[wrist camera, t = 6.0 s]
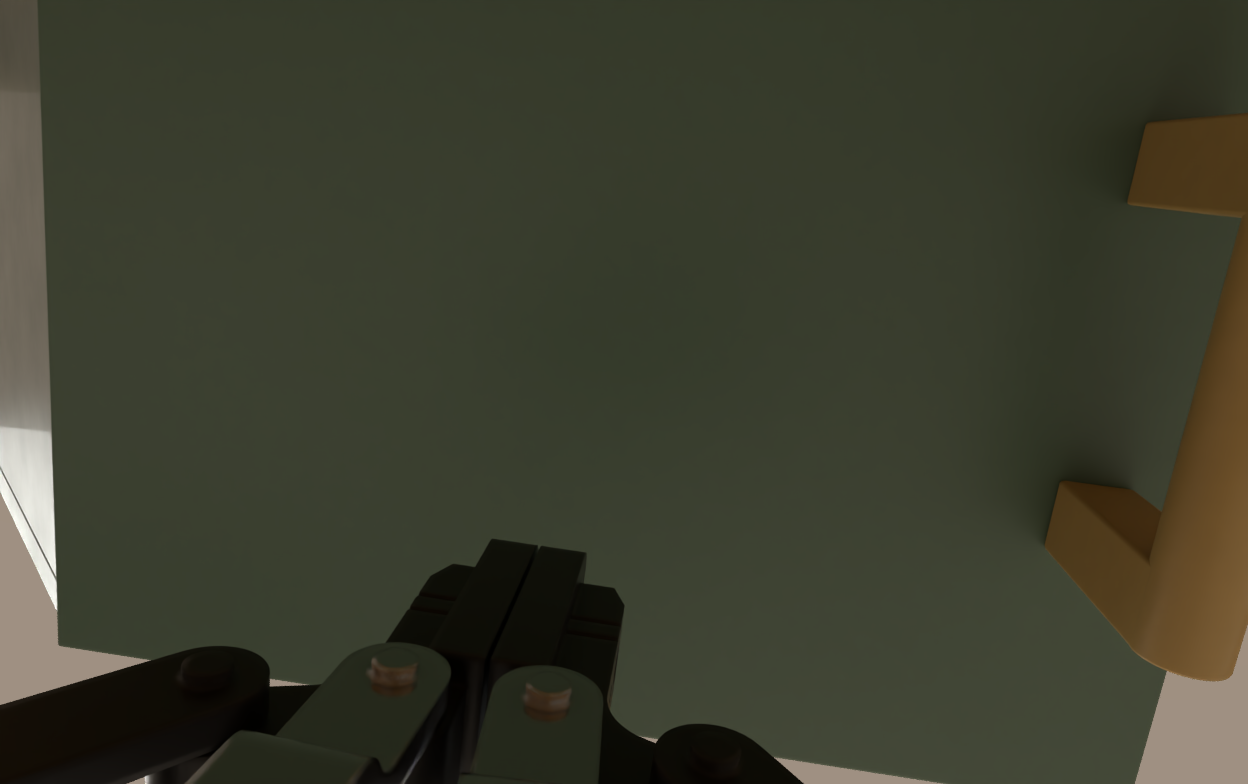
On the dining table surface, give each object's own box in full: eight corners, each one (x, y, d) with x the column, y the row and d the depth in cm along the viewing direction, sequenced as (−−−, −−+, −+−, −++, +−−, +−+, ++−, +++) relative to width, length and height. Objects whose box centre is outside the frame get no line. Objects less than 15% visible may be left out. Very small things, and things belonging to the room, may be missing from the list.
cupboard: (29, -467, 19) (64, 629, 25) (840, -112, 35) (746, 490, 41) (-68, -254, 32) (-31, 429, 38) (557, -67, 49) (516, 385, 54)
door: (-263, -757, 13) (-126, 781, 18) (1815, -619, 11) (1254, 1011, 17) (55, -457, 19) (83, 627, 24) (1422, -341, 17) (1110, 785, 23)
